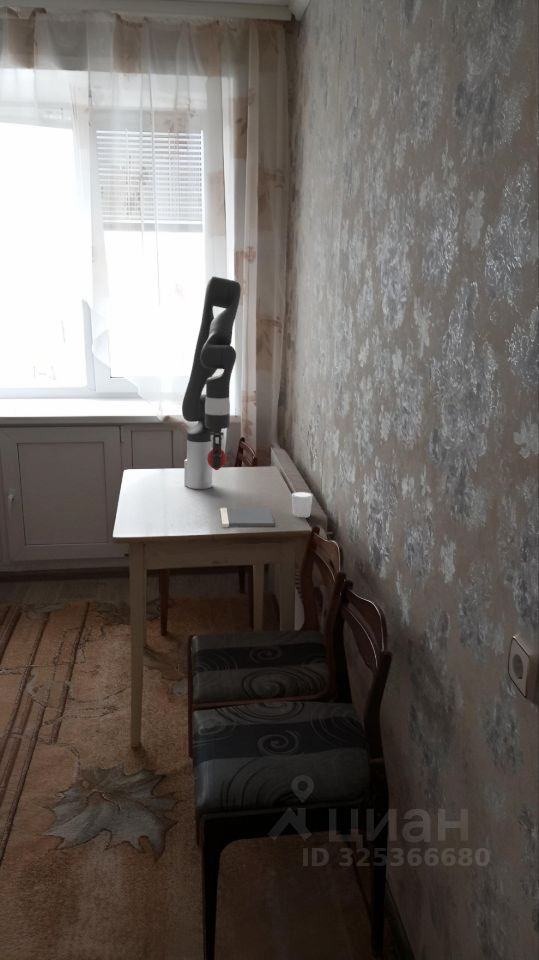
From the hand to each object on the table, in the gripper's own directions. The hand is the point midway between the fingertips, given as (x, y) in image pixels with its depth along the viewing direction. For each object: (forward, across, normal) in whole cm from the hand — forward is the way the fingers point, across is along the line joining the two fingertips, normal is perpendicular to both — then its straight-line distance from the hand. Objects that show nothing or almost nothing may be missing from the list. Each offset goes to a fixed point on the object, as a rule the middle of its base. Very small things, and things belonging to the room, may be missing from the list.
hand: (216, 465), depth 231 cm
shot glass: (+18, +5, -28) cm, 33 cm away
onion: (+2, 0, 0) cm, 2 cm away
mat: (+18, 0, -10) cm, 20 cm away
